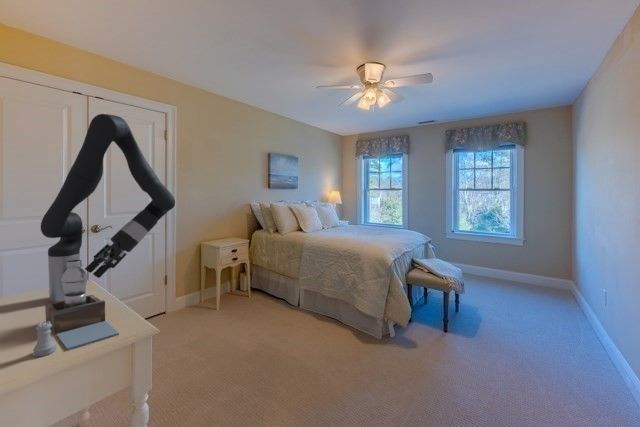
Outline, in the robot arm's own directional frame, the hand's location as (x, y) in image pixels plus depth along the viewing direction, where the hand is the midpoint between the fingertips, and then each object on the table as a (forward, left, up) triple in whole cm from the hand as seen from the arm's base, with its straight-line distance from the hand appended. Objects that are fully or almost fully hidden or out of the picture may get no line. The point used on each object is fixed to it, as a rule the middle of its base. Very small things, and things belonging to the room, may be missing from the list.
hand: (91, 273), depth 98 cm
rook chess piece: (+16, -14, -15) cm, 26 cm away
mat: (+13, -4, -15) cm, 20 cm away
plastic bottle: (0, -4, -15) cm, 16 cm away
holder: (0, -4, -15) cm, 16 cm away
